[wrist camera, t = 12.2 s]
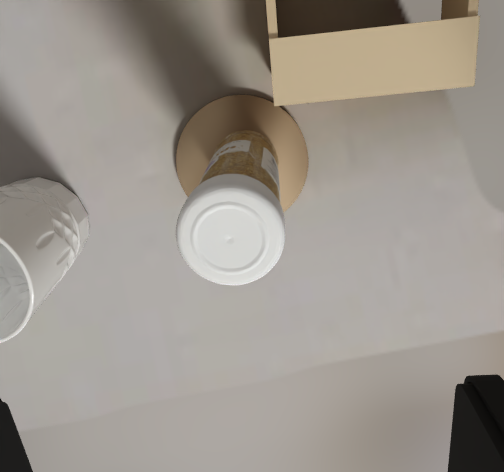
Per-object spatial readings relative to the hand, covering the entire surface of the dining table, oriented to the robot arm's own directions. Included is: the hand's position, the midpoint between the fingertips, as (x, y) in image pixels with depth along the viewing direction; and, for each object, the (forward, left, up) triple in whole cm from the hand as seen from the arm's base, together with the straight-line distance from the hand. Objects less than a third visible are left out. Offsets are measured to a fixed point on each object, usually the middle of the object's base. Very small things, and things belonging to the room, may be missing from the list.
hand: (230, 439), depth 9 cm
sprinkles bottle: (+1, -1, -23) cm, 23 cm away
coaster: (+1, 0, -24) cm, 24 cm away
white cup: (+16, +3, -24) cm, 29 cm away
